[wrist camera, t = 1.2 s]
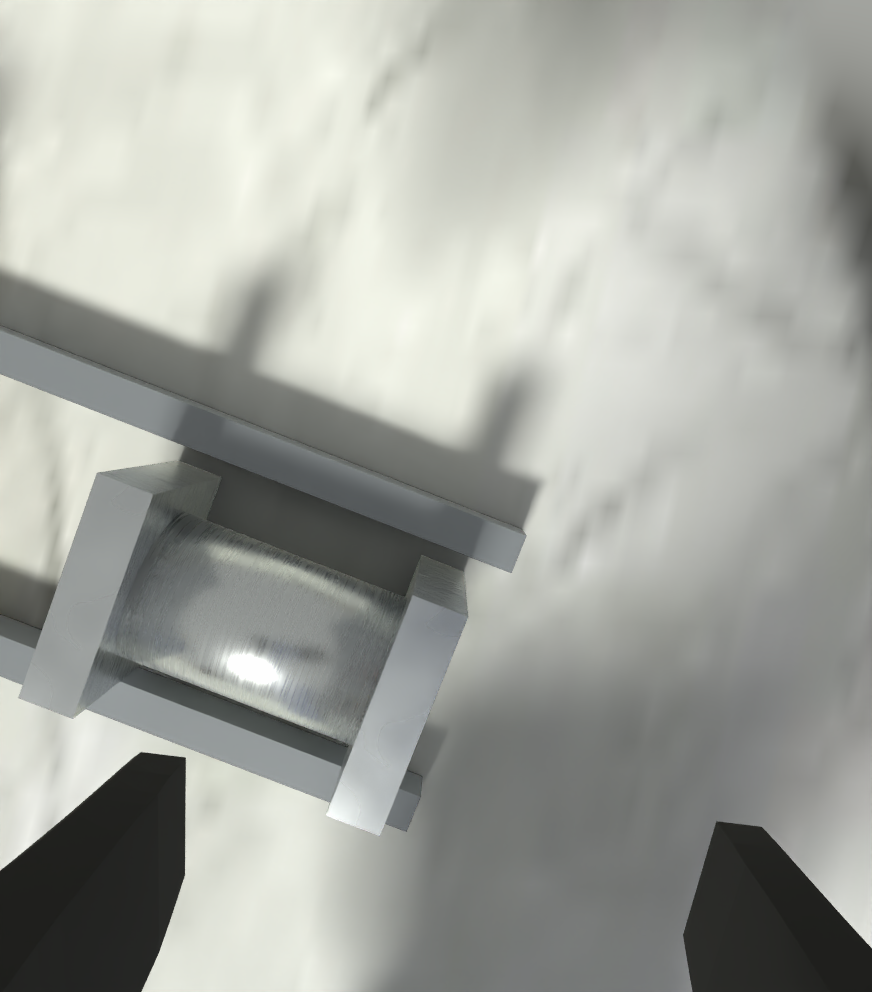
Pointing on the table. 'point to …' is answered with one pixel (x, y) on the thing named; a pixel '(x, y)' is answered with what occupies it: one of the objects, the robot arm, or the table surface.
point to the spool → (247, 628)
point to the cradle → (276, 457)
